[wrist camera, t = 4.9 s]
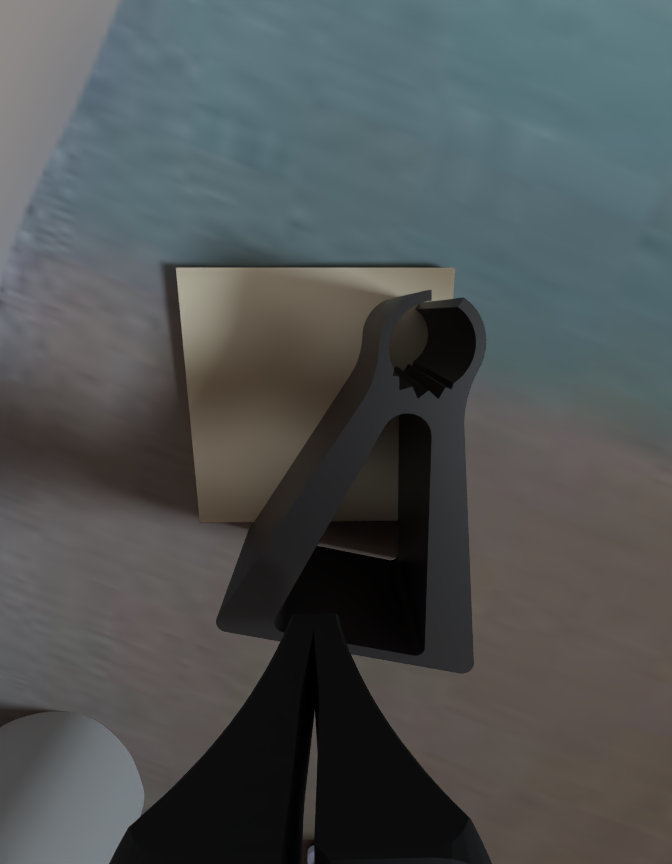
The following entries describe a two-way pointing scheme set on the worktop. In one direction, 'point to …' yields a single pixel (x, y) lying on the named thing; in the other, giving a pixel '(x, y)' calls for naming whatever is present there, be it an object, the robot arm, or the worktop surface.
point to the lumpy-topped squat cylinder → (64, 790)
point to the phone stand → (417, 505)
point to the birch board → (287, 375)
